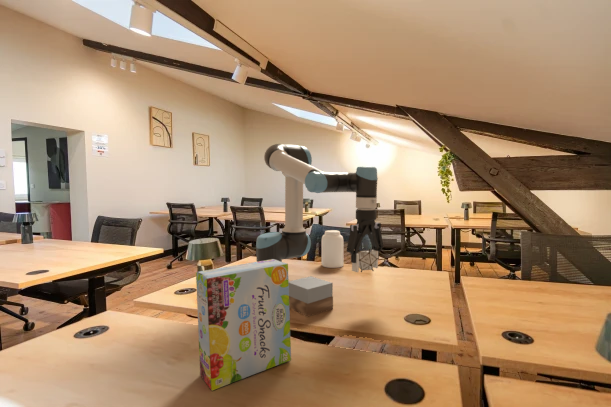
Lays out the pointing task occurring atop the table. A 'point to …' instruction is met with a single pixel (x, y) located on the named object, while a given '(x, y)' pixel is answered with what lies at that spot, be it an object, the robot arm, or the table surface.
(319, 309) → the tower base
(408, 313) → the table surface
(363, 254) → the game die
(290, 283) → the tower top
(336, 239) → the white plastic jar
